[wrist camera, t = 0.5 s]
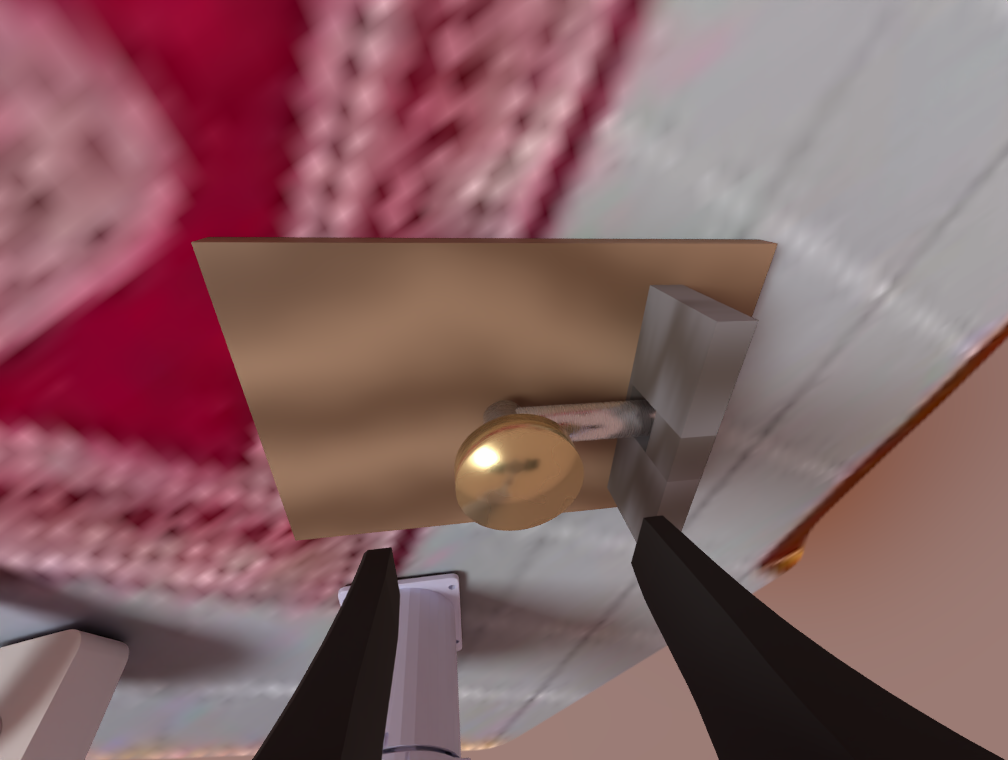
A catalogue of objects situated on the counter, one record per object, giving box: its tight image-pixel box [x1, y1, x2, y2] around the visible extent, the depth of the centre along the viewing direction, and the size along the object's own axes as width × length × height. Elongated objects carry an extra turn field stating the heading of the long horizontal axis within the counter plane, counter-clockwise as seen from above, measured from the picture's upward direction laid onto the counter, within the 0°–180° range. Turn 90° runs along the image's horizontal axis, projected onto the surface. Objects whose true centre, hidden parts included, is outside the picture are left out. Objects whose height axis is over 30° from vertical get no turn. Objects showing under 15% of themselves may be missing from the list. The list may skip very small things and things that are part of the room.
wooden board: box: [191, 237, 777, 543], centre depth 18 cm, size 16×24×6 cm, turn 88°
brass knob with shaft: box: [454, 400, 656, 531], centre depth 17 cm, size 5×13×5 cm, turn 88°
